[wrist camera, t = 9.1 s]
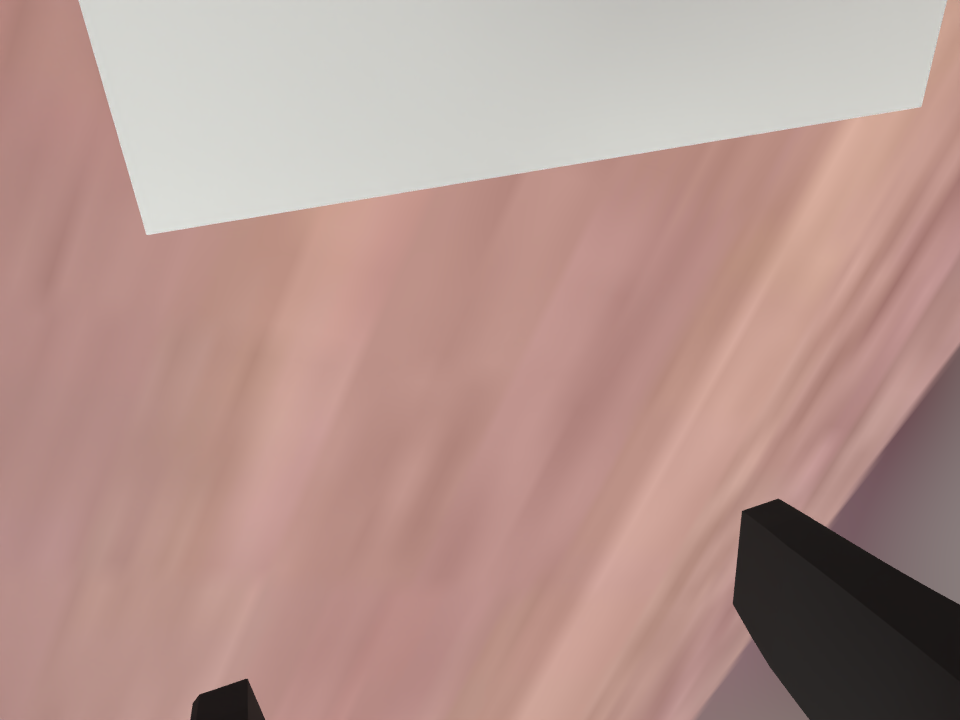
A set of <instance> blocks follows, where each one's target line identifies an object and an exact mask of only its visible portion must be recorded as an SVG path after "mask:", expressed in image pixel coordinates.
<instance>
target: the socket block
mask: <svg viewBox="0 0 960 720" xmlns="http://www.w3.org/2000/svg"><path fill="white" fill-rule="evenodd" d="M946 2H947V0H79V3H80V7H81V10H82V14H83V17H84V21H85V24H86V28H87V31H88V34H89V38H90V41H91V45H92V48H93V52H94V55H95V59H96V62H97V65H98V69H99V72H100V76H101V79H102V83H103V86H104V90H105V93H106V97H107V100H108V103H109V107H110V110H111V114H112V117H113V121H114V124H115V128H116V131H117V134H118V138H119V141H120V145H121V148H122V152H123V155H124V159H125V162H126V165H127V169H128V172H129V176H130V179H131V183H132V186H133V190H134V193H135V196H136V200H137V203H138V207H139V210H140V214H141V217H142V221H143V224H144V228H145V231H146V234H147V235H150V234H156V233H162V232H168V231H174V230H180V229H186V228H192V227H198V226H204V225H210V224H216V223H222V222H228V221H234V220H241V219H247V218H253V217H259V216H265V215H271V214H277V213H283V212H289V211H295V210H301V209H307V208H313V207H319V206H325V205H331V204H337V203H343V202H349V201H355V200H361V199H368V198H374V197H380V196H386V195H392V194H398V193H404V192H410V191H416V190H422V189H428V188H434V187H440V186H446V185H452V184H458V183H464V182H470V181H476V180H482V179H488V178H495V177H501V176H507V175H513V174H519V173H525V172H531V171H537V170H543V169H549V168H555V167H561V166H567V165H573V164H579V163H585V162H591V161H597V160H603V159H609V158H615V157H622V156H628V155H634V154H640V153H646V152H652V151H658V150H664V149H670V148H676V147H682V146H688V145H694V144H700V143H706V142H712V141H718V140H724V139H730V138H736V137H742V136H749V135H755V134H761V133H767V132H773V131H779V130H785V129H791V128H797V127H803V126H809V125H815V124H821V123H827V122H833V121H839V120H845V119H851V118H857V117H863V116H869V115H876V114H882V113H888V112H894V111H900V110H906V109H912V108H918V107H921V106H922V102H923V98H924V93H925V89H926V85H927V81H928V77H929V73H930V68H931V64H932V60H933V56H934V52H935V48H936V44H937V39H938V35H939V31H940V27H941V23H942V19H943V15H944V10H945V6H946Z"/></svg>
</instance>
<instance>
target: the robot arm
mask: <svg viewBox="0 0 960 720" xmlns="http://www.w3.org/2000/svg"><path fill="white" fill-rule="evenodd" d="M733 605H734V607H735V609H736V610H737V612H738V614H739V616H740V617H741V619H742V621H743V623H744V624H745V626H746V628H747V630H748V631H749V633H750V635H751V637H752V638H753V640H754V642H755V643H756V645H757V646H758V648H759V650H760V651H761V653H762V655H763V656H764V658H765V660H766V661H767V663H768V665H769V666H770V668H771V669H772V670H773V672H774V673H775V674H776V676H777V677H778V678H779V680H780V681H781V683H782V684H783V685H784V686H785V688H786V689H787V690H788V692H789V693H790V694H791V696H792V697H793V698H794V700H795V701H796V702H797V704H798V705H799V706H800V708H801V709H802V710H803V712H804V713H805V714H806V716H807V717H808V718H809V719H810V720H960V605H959V604H957V603H956V602H954V601H952V600H950V599H948V598H946V597H945V596H943V595H941V594H939V593H937V592H935V591H934V590H932V589H930V588H928V587H927V586H925V585H923V584H921V583H919V582H918V581H916V580H914V579H913V578H911V577H909V576H907V575H906V574H903V573H902V572H900V571H899V570H897V569H895V568H893V567H892V566H890V565H888V564H887V563H885V562H883V561H882V560H880V559H878V558H876V557H875V556H873V555H871V554H870V553H868V552H866V551H865V550H863V549H861V548H860V547H858V546H856V545H855V544H853V543H851V542H850V541H848V540H846V539H845V538H843V537H841V536H840V535H838V534H836V533H835V532H833V531H831V530H830V529H828V528H827V527H825V526H823V525H822V524H820V523H818V522H817V521H815V520H813V519H812V518H810V517H808V516H807V515H805V514H804V513H802V512H800V511H799V510H797V509H795V508H794V507H792V506H790V505H788V504H787V503H785V502H783V501H782V500H780V499H776V500H773V501H770V502H767V503H764V504H761V505H758V506H755V507H752V508H749V509H746V510H744V511H742V517H741V527H740V537H739V547H738V557H737V567H736V577H735V587H734V597H733ZM191 720H265V718H264V716H263V714H262V711H261V709H260V707H259V704H258V702H257V700H256V697H255V695H254V693H253V690H252V688H251V686H250V683H249V681H248V679H244V680H241V681H238V682H235V683H232V684H230V685H227V686H224V687H221V688H218V689H215V690H212V691H209V692H206V693H203V694H200V695H199V696H198V697H197V699H196V700H195V701H194V703H193V706H192V713H191Z"/></svg>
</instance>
